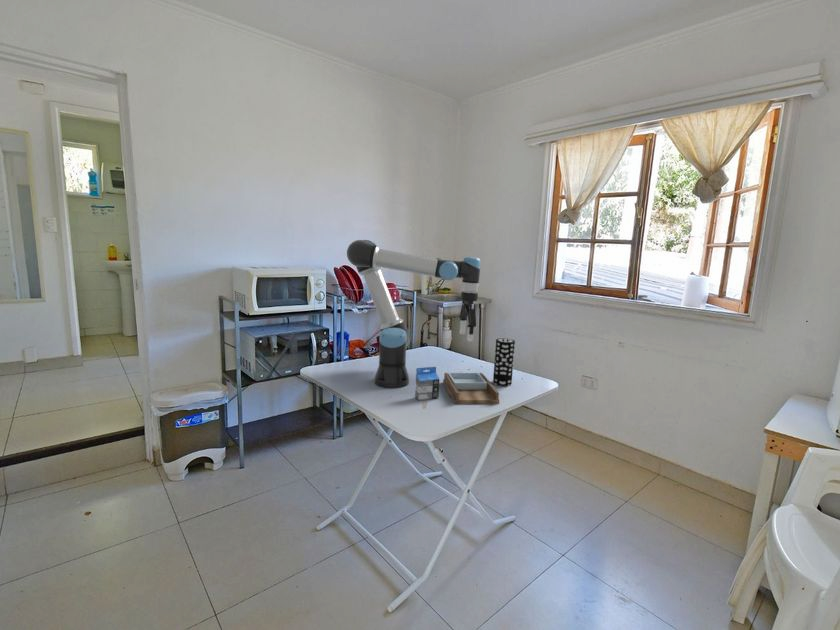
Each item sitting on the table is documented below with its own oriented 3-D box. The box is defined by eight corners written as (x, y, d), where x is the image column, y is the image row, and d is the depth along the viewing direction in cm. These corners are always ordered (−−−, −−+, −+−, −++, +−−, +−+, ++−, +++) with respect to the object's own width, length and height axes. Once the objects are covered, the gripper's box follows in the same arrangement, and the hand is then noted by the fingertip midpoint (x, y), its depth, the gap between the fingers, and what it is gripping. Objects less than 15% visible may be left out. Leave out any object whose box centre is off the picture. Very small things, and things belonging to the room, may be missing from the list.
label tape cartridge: (418, 401, 161) (419, 371, 159) (414, 397, 164) (415, 368, 162) (438, 398, 164) (440, 369, 162) (434, 395, 168) (436, 366, 166)
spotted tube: (502, 387, 180) (505, 343, 176) (489, 381, 187) (492, 339, 183) (515, 384, 184) (519, 341, 181) (502, 379, 191) (505, 337, 188)
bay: (454, 404, 159) (455, 393, 158) (443, 382, 184) (443, 372, 183) (499, 403, 161) (500, 392, 161) (482, 382, 186) (482, 372, 185)
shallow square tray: (454, 390, 170) (454, 383, 169) (447, 379, 184) (448, 372, 183) (486, 389, 172) (487, 383, 171) (478, 378, 185) (478, 372, 185)
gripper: (486, 295, 173) (481, 344, 177) (470, 288, 198) (466, 331, 201) (468, 295, 172) (465, 344, 176) (455, 288, 196) (452, 331, 200)
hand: (466, 337), depth 189 cm, fingers open, 13 cm apart
